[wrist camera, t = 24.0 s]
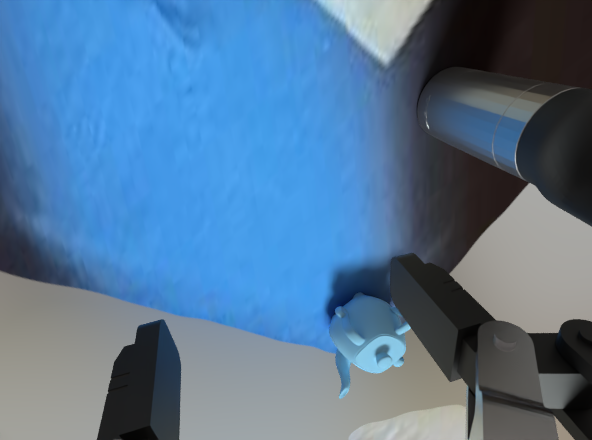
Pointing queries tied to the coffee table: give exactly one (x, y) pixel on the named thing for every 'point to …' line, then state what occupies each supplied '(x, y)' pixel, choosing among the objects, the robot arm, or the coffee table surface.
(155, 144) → the coffee table surface
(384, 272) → the coffee table surface
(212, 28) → the coffee table surface
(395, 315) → the teapot
